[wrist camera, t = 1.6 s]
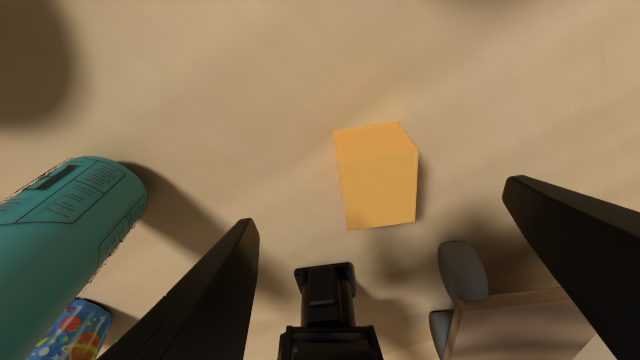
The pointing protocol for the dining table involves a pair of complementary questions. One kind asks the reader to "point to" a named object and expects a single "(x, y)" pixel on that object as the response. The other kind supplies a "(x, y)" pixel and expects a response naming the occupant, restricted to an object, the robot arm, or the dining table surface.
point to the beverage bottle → (59, 243)
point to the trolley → (502, 316)
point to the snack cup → (75, 334)
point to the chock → (377, 175)
